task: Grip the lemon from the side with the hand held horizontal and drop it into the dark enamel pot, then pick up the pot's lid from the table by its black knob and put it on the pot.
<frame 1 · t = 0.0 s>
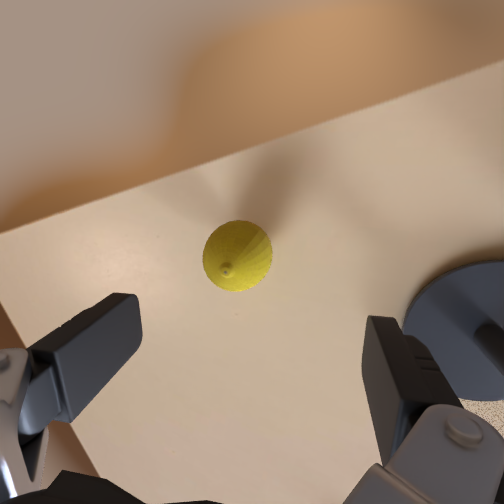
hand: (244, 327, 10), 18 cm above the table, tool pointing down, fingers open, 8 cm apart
pot lid: (485, 333, 26), point 1 cm above the table
lemon: (248, 241, 29), on the table
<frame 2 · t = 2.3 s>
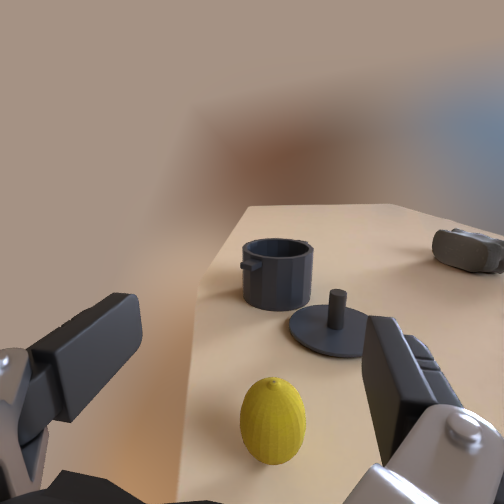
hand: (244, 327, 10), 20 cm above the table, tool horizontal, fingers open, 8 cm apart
pot lid: (334, 328, 45), point 1 cm above the table
lemon: (271, 457, 27), on the table
pot: (276, 295, 58), on the table
rock: (469, 265, 74), on the table
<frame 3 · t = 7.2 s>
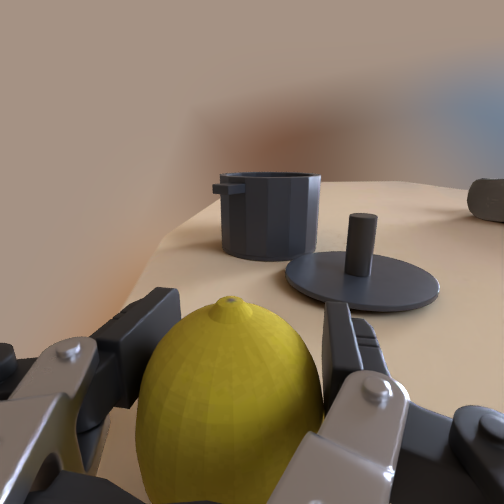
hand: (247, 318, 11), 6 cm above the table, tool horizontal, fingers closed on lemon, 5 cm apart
pot lid: (356, 277, 29), point 1 cm above the table
pot: (268, 246, 41), on the table
when the fingers open (14 cm above the table, at t = 16.0 s): lemon drops 6 cm, resting on pot.
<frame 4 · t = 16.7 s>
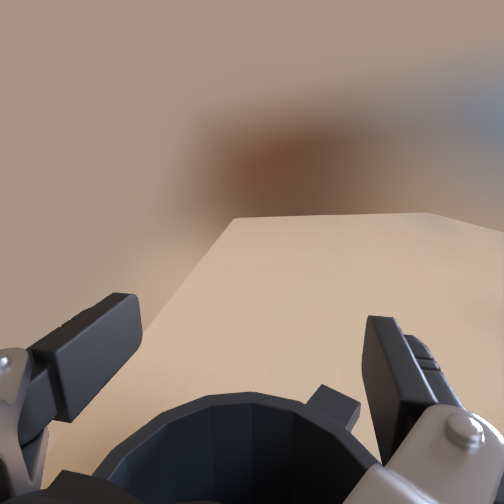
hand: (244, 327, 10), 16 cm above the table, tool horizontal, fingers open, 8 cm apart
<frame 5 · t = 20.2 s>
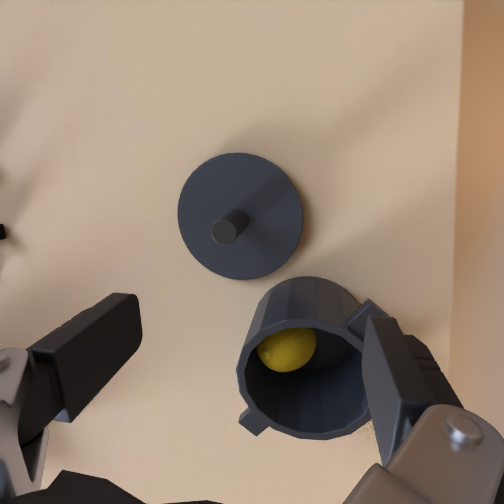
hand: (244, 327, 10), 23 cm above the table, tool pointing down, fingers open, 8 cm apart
pot lid: (238, 219, 33), point 1 cm above the table
lemon: (305, 328, 34), point 1 cm above the table, touching pot
pot: (308, 326, 35), on the table
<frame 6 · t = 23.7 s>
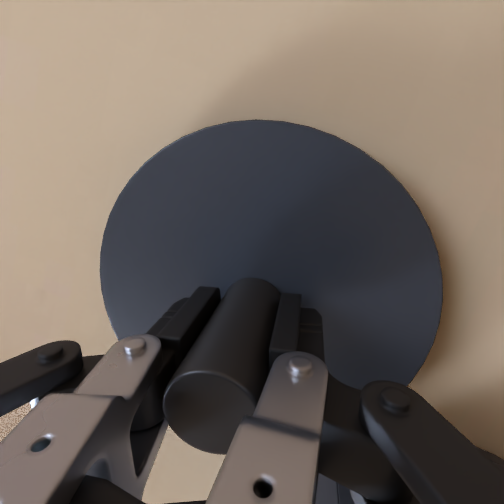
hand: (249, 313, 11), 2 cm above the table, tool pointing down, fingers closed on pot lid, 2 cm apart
pot lid: (255, 299, 13), point 1 cm above the table, touching gripper
when the fingers open (11 cm above the table, at t = 29.3 s): pot lid stays where it is, resting on pot.
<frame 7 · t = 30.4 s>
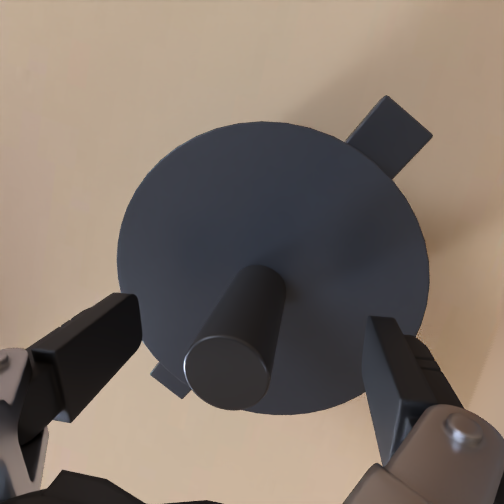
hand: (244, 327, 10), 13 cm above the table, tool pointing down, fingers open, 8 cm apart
pot lid: (260, 285, 14), point 9 cm above the table, touching pot
pot: (279, 235, 23), on the table
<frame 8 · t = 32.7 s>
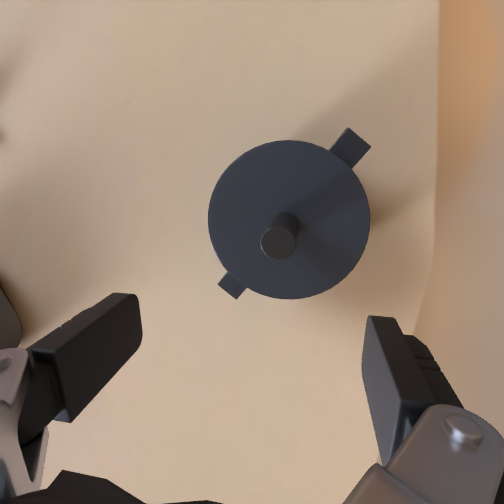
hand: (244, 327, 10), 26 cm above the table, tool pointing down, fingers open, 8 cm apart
pot lid: (285, 224, 26), point 9 cm above the table, touching pot
pot: (291, 207, 35), on the table
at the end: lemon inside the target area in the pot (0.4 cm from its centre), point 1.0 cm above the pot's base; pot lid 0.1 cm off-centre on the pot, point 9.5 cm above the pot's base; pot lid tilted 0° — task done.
